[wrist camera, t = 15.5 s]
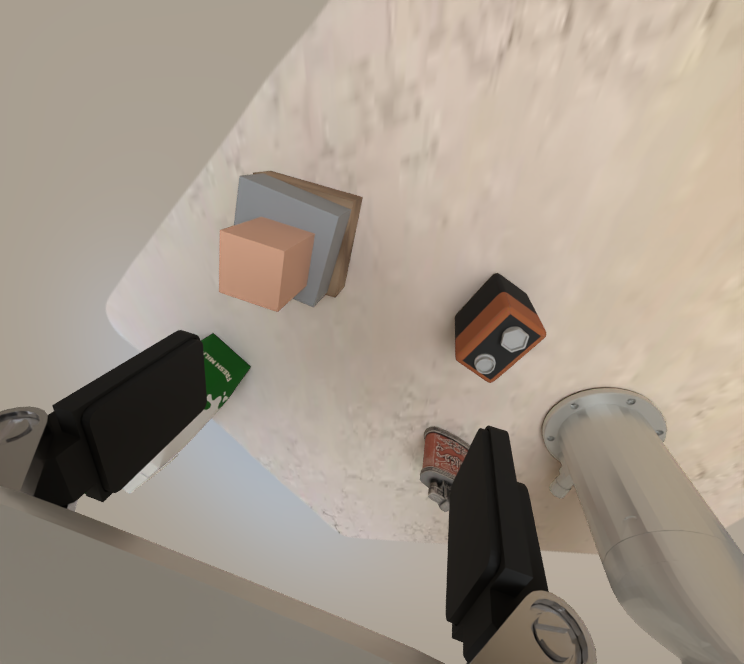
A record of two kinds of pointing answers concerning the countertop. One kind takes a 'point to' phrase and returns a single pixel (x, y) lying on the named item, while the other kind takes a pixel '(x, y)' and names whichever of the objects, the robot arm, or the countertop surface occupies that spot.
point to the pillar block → (264, 262)
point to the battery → (496, 329)
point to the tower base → (348, 239)
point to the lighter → (441, 463)
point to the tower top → (297, 223)
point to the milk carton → (220, 384)
